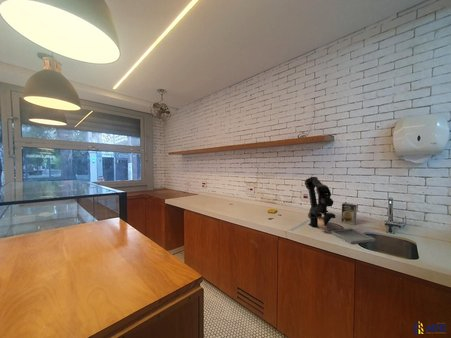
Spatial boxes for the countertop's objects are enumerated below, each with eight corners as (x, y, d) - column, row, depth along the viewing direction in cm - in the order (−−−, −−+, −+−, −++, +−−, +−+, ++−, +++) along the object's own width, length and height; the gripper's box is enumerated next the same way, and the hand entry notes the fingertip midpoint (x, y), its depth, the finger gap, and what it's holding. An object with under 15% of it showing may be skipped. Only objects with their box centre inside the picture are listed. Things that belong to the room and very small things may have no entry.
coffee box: (341, 222, 155) (341, 203, 155) (344, 221, 159) (344, 202, 158) (353, 225, 148) (353, 205, 147) (356, 223, 151) (357, 204, 151)
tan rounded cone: (315, 225, 136) (315, 217, 135) (323, 224, 137) (323, 216, 136) (321, 227, 130) (321, 219, 129) (328, 227, 131) (328, 219, 130)
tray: (330, 233, 132) (330, 230, 132) (351, 231, 135) (351, 228, 135) (351, 244, 115) (351, 241, 114) (375, 241, 118) (375, 238, 118)
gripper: (304, 200, 140) (304, 221, 141) (321, 206, 122) (321, 229, 122) (317, 200, 142) (317, 220, 143) (336, 206, 124) (335, 228, 124)
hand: (322, 224), depth 133 cm, fingers closed on tan rounded cone, 6 cm apart
